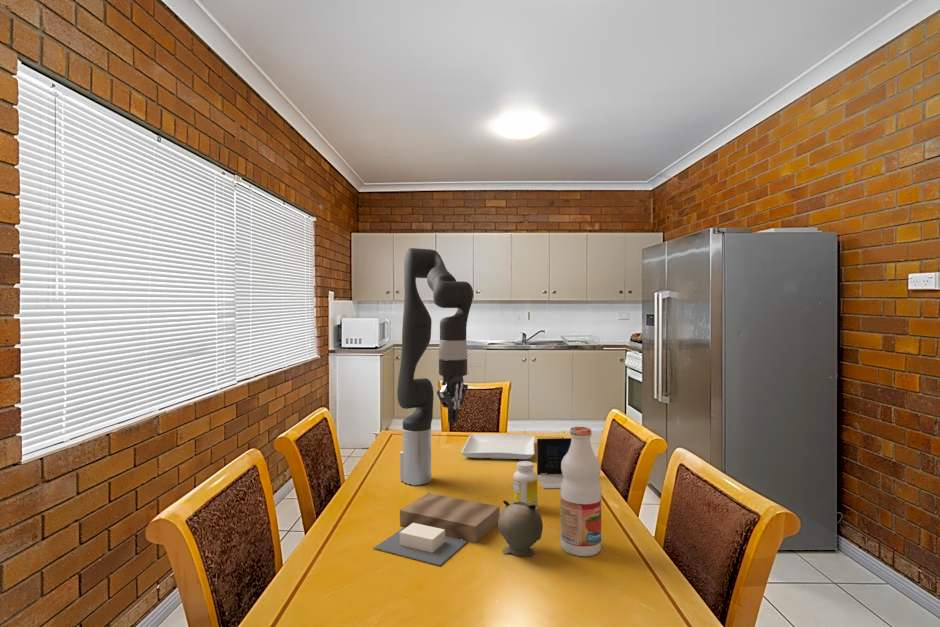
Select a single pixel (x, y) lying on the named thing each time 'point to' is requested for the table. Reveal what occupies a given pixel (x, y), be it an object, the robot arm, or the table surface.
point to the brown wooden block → (452, 516)
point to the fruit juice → (580, 497)
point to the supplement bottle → (525, 484)
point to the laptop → (551, 461)
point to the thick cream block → (422, 537)
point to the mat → (428, 557)
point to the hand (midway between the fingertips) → (452, 422)
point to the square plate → (499, 446)
